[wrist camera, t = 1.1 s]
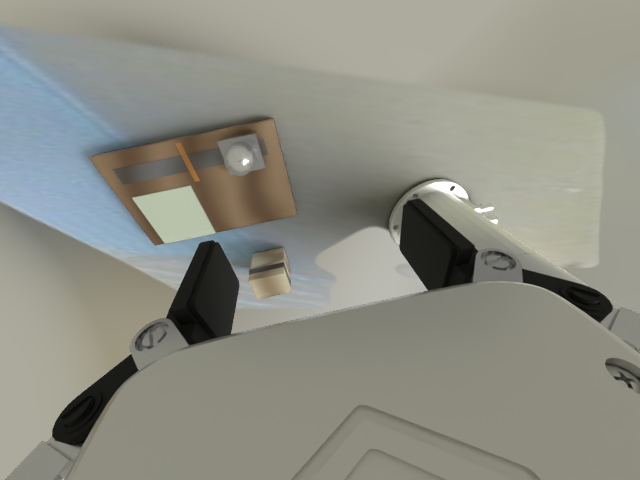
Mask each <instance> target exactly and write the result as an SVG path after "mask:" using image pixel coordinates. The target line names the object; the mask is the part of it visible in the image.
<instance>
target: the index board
mask: <svg viewBox="0 0 640 480" xmlns="http://www.w3.org/2000/svg"><path fill="white" fill-rule="evenodd" d="M255 131H256V132H257V135H258V139H259V142H260V145H261V148H262V152H263V155H264V158H265V162H266V168H263V169H259V170H254V171H250V172H249V173H248V174H246V175H244V176H237V175H230V173H229V171H228V169H227V168H226V166H225V163H224V158H223V156H222V153H221V151H220V148H219V146H218V143H217V141H218V140H219V139H221V138H226V137H231V136H236V135H241V134H245V133H250V132H255ZM89 159H90V161H91V162H92V163H93V164H94V166H95V167H96V168H97V170H98V171H99V172H100V174H101V175H102V176H103V178H104V179H105V180H106V182H107V183H108V184H109V186H110V187H111V188H112V190H113V191H114V192H115V193H116V195H117V196H118V197H119V199H120V200H121V201H122V203H123V204H124V205H125V207H126V208H127V209H128V211H129V212H130V213H131V215H132V216H133V217H134V219H135V220H136V221H137V223H138V224H139V225H140V226H141V228H142V229H143V230H144V232H145V233H146V234H147V236H148V237H149V238H150V240H151V241H152V242H153V244H154V245H160V244H164V242H163V240H162V239H161V238H160V236H159V235H158V234H157V232H156V231H155V229H154V228H153V227H152V225H151V224H150V222H149V221H148V220H147V218H146V217H145V215H144V214H143V213H142V211H141V210H140V209H139V207H138V206H137V204H136V203H135V202H134V200H133V199H132V198H133V197H137V196H141V195H146V194H151V193H156V192H161V191H165V190H170V189H175V188H180V187H185V186H189V185H191V187H192V189H193V191H194V193H195V195H196V196H197V198H198V200H199V202H200V204H201V206H202V208H203V210H204V211H205V213H206V215H207V217H208V219H209V221H210V223H211V225H212V226H213V228H214V230H215V232H221V231H226V230H230V229H235V228H240V227H244V226H249V225H254V224H259V223H263V222H268V221H273V220H277V219H282V218H287V217H291V216H296V215H297V209H296V205H295V202H294V198H293V194H292V190H291V186H290V182H289V178H288V174H287V170H286V166H285V162H284V158H283V154H282V151H281V147H280V143H279V139H278V135H277V131H276V127H275V123H274V119H273V118H270V119H265V120H261V121H256V122H251V123H246V124H241V125H236V126H231V127H227V128H222V129H217V130H212V131H207V132H202V133H197V134H193V135H188V136H183V137H178V138H173V139H168V140H163V141H159V142H154V143H149V144H144V145H139V146H134V147H130V148H125V149H120V150H115V151H110V152H105V153H100V154H97V155H94V156H92V157H89Z"/></svg>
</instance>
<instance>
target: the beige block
mask: <svg viewBox="0 0 640 480" xmlns="http://www.w3.org/2000/svg"><path fill="white" fill-rule="evenodd" d="M248 281H249V283H250V285H251V287H252V289H253V291H254V293H255V295H256V297H257V299H262V298H266V297H271V296H275V295H280V294H284V293H289V292H291V287H290V286H291V281H290V265H289V262H288V259H287V256H286V253H285V250H284V247H282V248H278V249H273V250H268V251H264V252H259V253H254V254H253V256H252V262H251V268H250V271H249V280H248Z"/></svg>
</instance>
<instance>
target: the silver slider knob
mask: <svg viewBox="0 0 640 480" xmlns="http://www.w3.org/2000/svg"><path fill="white" fill-rule="evenodd" d="M217 143H218V146H219V148H220V151H221V153H222V156H223V158H224V163H225V166H226V168H227V169H228V171H229V173H230V175H237V176H244V175H246V174H248V173H249V172H250V171H254V170H259V169H263V168H266V162H265V158H264V155H263V152H262V148H261V145H260V142H259V139H258V135H257V132H256V131H255V132H250V133H245V134H241V135H236V136H231V137H226V138H221V139H219V140H218V141H217Z"/></svg>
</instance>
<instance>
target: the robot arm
mask: <svg viewBox="0 0 640 480" xmlns="http://www.w3.org/2000/svg"><path fill="white" fill-rule="evenodd" d="M492 210H493V205H492V204H491V203H485V204H481V205H478V206H476V205H474V204H473V203H471V202H470V201H469V198H468V195H467V193H466V191H465V190H464V189H463V187H461V186H460V185H458V184H457V183H455V182H453V181H451V180H446V179H435V180H430V181H427V182H424V183H421V184H419V185H417V186H416V187H414V188H412V189H411V190H410V191H408V192H407V193H406V194H405V195H404V196H403V197H402V198H401V199H400V200H399V201H398V203H397V204H396V206H395V207H394V209H393V211H392V213H391V216H390V220H389V232H390V235H391V237H392V238H393V240H394V241H395V243H396V244H397V245H398V246H399V247H400V251H401V252H402V254H403V255H404V257H405V258H406V259H407V261H408V263H409V264H410V265H411V267H412V268H413V270H414V271H415V272H416V274H417V275H418V277H419V278H420V280H421V281H422V282H423V284H424V285H425V287H426V288H427V289H428V291H424V292H419V293H414V294H410V295H406V296H401V297H396V298H392V299H387V300H382V301H378V302H373V303H368V304H363V305H359V306H354V307H350V308H346V309H341V310H336V311H332V312H327V313H323V314H319V315H314V316H310V317H305V318H300V319H296V320H291V321H287V322H283V323H278V324H274V325H269V326H265V327H260V328H256V329H252V330H247V331H243V332H240V333H235V334H231V330H232V324H233V318H234V313H235V308H236V302H237V296H238V291H239V281H238V278H237V277H236V275H235V273H234V271H233V269H232V267H231V265H230V263H229V261H228V259H227V257H226V255H225V253H224V252H223V250H222V248H221V246H220V244H219V243H218V242H216V243H215V242H214V241H213V240H212V241H207V242H202V243H200V244H199V246H198V248H197V250H196V253H195V255H194V257H193V259H192V261H191V263H190V266H189V268H188V270H187V272H186V274H185V277H184V279H183V281H182V283H181V285H180V287H179V290H178V292H177V294H176V296H175V298H174V300H173V303H172V305H171V307H170V309H169V312H168V315H167V317H166V318H162V319H158V320H155V321H153V322H151V323H149V324H147V325H146V326H145V327H143V328H142V329H141V330H140V331H139V332H138V333H137V334H136V335H135V337H134V338H133V340H132V341H131V345H130V352H131V355H129V356H128V357H127V358H126V359H124V360H123V361H122V362H120V363H119V364H118V365H117V366H115V367H114V368H113V369H112V370H110V371H109V372H108V373H107V374H106V375H104V376H103V377H102V378H100V379H99V380H98V381H97V382H95V383H94V384H93V385H91V386H90V387H89V388H88V389H87V390H85V391H84V392H83V393H81V394H80V395H79V396H78V397H76V398H75V399H74V400H73V401H72V402H71V403H70V404H69V405H68V406H67V407H66V408H65V409H64V410H63V411H62V413H61V414H60V416H59V417H58V419H57V420H56V422H55V425H54V427H53V431H52V432H53V433H52V437H51V438H50V440H49V441H48V442H43V441H42V442H41V443H40V444H39V445H38V446H37V447H36V448H35V449H34V450H33V451H32V452H31V453H30V454H29V455H28V456H27V457H26V458H25V459H24V460H23V461H22V462H21V463H20V465H18V467H17V468H16V469H15V470H14V471H13V472H12V473H11V474H10V475H9V476H8V477H7V478H6V479H5V480H640V314H639V313H636V312H634V311H631V310H629V309H627V308H625V307H623V306H622V305H620V304H618V303H616V302H615V301H613V300H611V299H609V298H608V297H606V296H604V295H603V294H601V293H600V292H598V291H597V290H595V289H593V288H591V287H590V286H588V285H587V284H585V283H583V282H582V281H580V280H579V279H577V278H576V277H574V276H572V275H571V274H569V273H568V272H566V271H565V270H563V269H562V268H560V267H559V266H557V265H556V264H554V263H553V262H551V261H550V260H548V259H547V258H545V257H544V256H542V255H541V254H539V253H538V252H536V251H535V250H533V249H532V248H531V247H529V246H528V245H526V244H525V243H523V242H522V241H520V240H519V239H517V238H516V237H514V236H513V235H511V234H510V233H508V232H507V231H505V230H504V229H502V228H501V227H500V226H498V225H497V217H496V216H495V215H494V214H488V215H484V216H483V215H482V214H480V213H487V212H491V211H492Z"/></svg>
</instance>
